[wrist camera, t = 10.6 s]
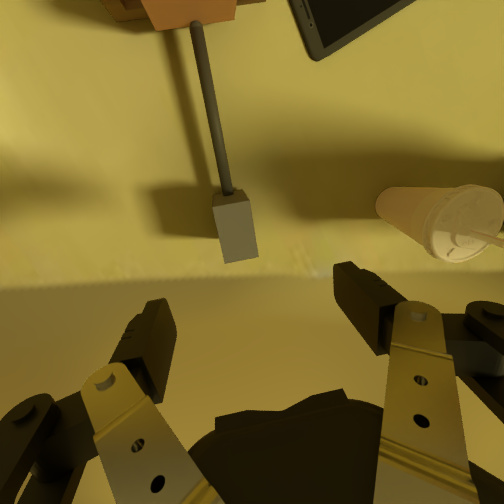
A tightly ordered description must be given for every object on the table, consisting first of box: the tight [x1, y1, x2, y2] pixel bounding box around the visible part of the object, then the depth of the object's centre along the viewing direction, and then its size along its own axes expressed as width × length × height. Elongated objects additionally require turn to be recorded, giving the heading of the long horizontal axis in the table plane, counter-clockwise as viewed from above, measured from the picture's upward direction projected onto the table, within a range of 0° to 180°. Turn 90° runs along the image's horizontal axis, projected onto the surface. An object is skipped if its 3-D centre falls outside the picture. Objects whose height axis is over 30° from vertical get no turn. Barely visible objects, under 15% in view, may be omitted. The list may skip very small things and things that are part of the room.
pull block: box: [141, 0, 259, 264], centre depth 19 cm, size 25×6×7 cm, turn 9°
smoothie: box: [375, 184, 504, 263], centre depth 22 cm, size 6×6×14 cm
